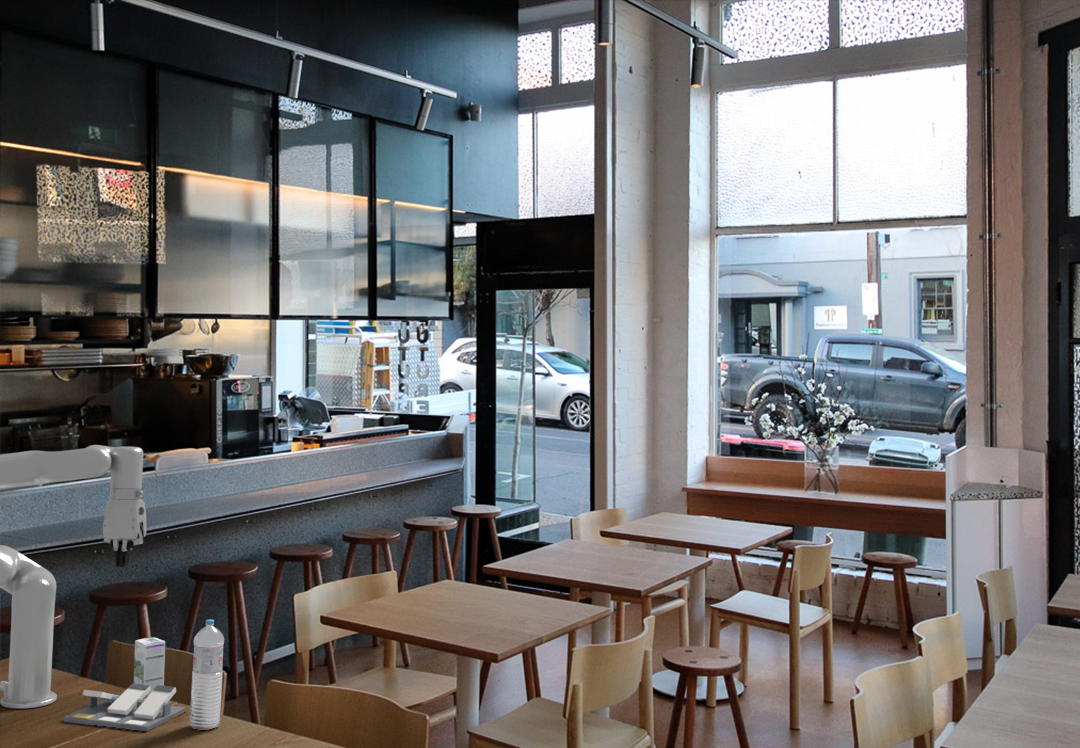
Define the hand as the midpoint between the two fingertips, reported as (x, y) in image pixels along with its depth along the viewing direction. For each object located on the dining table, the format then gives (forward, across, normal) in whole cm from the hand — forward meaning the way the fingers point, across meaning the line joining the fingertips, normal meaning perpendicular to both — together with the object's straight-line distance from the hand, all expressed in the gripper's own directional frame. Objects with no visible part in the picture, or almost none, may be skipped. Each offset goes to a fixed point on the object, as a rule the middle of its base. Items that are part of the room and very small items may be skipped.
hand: (122, 566), depth 265 cm
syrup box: (+33, -8, -2) cm, 34 cm away
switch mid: (+29, -13, +13) cm, 34 cm away
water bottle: (+33, -34, +14) cm, 50 cm away
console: (+33, -13, +14) cm, 38 cm away
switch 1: (+29, -6, +13) cm, 32 cm away
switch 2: (+29, -20, +13) cm, 38 cm away
